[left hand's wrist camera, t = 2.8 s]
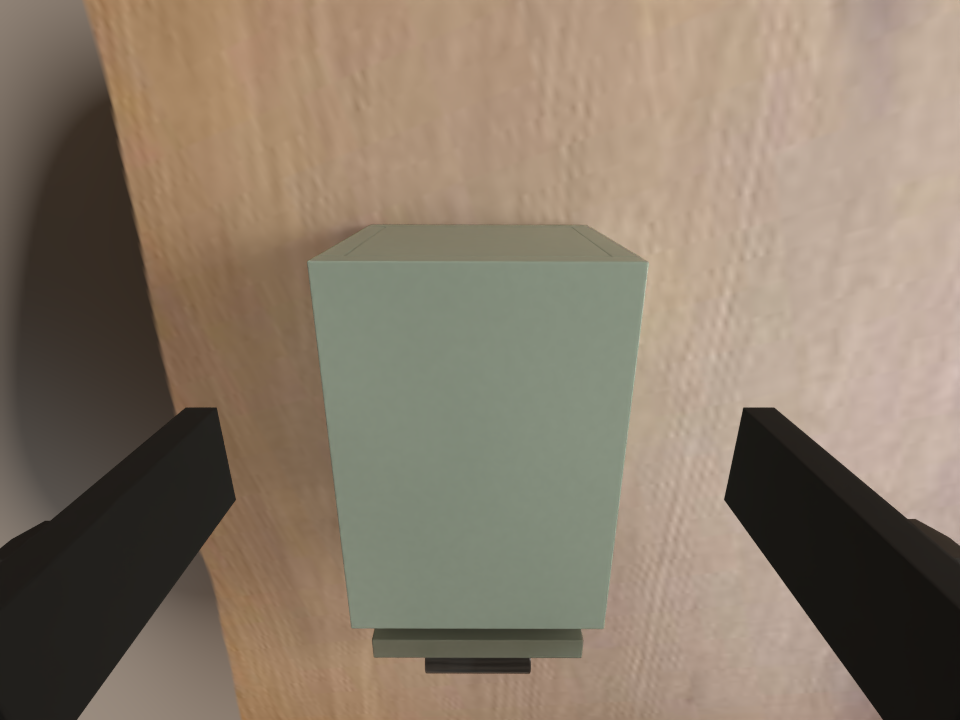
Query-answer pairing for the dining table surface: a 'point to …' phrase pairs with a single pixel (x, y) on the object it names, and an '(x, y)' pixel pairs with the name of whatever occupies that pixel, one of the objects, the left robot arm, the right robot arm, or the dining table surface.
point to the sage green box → (477, 419)
